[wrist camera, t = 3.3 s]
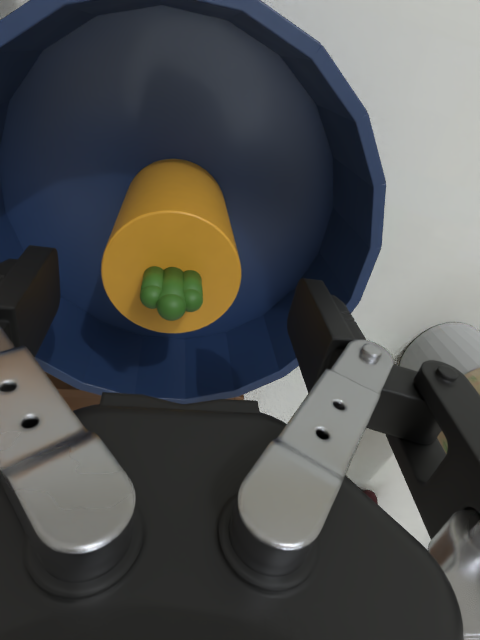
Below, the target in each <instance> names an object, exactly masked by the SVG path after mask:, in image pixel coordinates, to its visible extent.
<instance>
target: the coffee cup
mask: <svg viewBox="0 0 480 640" xmlns="http://www.w3.org/2000/svg"><path fill="white" fill-rule="evenodd" d="M428 360H435V361H440V362H443V363H446V364H448V365H451V366H452V367H454V368H456V369H457V370H459V371H460V372H461V373H463V374H464V375H465V376H466V378H467V379H468V380H469V381H470V383H471V384H472V385H473V387H474V388H475V389H476V391H477V392H478V393H479V395H480V331H479V330H478V329H476V328H474V327H472V326H470V325H468V324H464V323H456V322H452V323H444V324H440V325H437V326H435V327H432V328H430V329H428V330H427V331H425V332H424V333H422V334H421V335H420V336H418V337H417V338H416V339H415V340H414V341H413V342H412V343H411V344H410V345H409V347H408V348H407V349H406V351H405V352H404V354H403V356H402V358H401V361H400V365H399V366H401V367H404V368H408V369H411V370H414V371H418V370H419V368H420V367H421V365H422V363H423V362H425V361H428ZM437 438H438V440H439V442H440V444H441V445H442V447H443V449H444V451H445V453H446V454H447V450H448V444H447V440H446V437H445V435H444V434H443V432H442V431H441V432H440V434H439V435H438V437H437Z"/></svg>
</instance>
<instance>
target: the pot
mask: <svg viewBox="0 0 480 640" xmlns="http://www.w3.org/2000/svg"><path fill="white" fill-rule="evenodd" d="M164 159H182V160H186V161H190V162H192V163H195V164H197V165H199V166H200V167H202V168H203V169H205V170H206V171H207V172H208V173H209V174H210V175H212V177H213V178H214V179H215V180H216V182H217V183H218V185H219V187H220V189H221V191H222V193H223V197H224V200H225V204H226V208H227V212H228V216H229V220H230V224H231V228H232V232H233V235H234V239H235V243H236V247H237V251H238V255H239V259H240V264H241V283H240V287H239V291H238V293H237V296H236V298H235V300H234V301H233V303H232V305H231V306H230V307H229V309H228V310H227V311H226V312H225V313H224V314H223V315H222V316H221V317H220V318H218V319H217V320H216V321H214V322H213V323H211V324H209V325H208V326H205V327H203V328H201V329H198V330H194V331H191V332H185V333H162V332H156V331H152V330H149V329H146V328H143V327H141V326H139V325H137V324H135V323H134V322H132V321H130V320H129V319H127V318H126V317H125V316H124V315H122V314H121V313H120V312H119V311H118V310H117V309H116V307H115V306H114V305H113V303H112V302H111V301H110V299H109V297H108V295H107V293H106V291H105V288H104V286H103V282H102V277H101V261H102V257H103V253H104V250H105V248H106V245H107V242H108V240H109V237H110V235H111V232H112V229H113V227H114V224H115V222H116V219H117V216H118V214H119V211H120V209H121V206H122V203H123V201H124V198H125V196H126V193H127V191H128V188H129V185H130V184H131V182H132V180H133V179H134V177H135V176H136V175H137V174H138V173H139V172H140V171H141V170H142V169H143V168H145V167H146V166H148V165H150V164H152V163H154V162H156V161H159V160H164ZM385 192H386V181H385V177H384V173H383V169H382V165H381V161H380V157H379V153H378V150H377V146H376V142H375V138H374V134H373V130H372V126H371V122H370V118H369V115H368V113H367V110H366V109H365V107H364V106H363V104H362V103H361V101H360V100H359V98H358V97H357V95H356V94H355V93H354V91H353V90H352V88H351V87H350V85H349V84H348V82H347V81H346V79H345V78H344V76H343V75H342V73H341V72H340V70H339V69H338V67H337V66H336V64H335V63H334V61H333V60H332V58H331V57H330V55H329V54H328V53H327V51H326V50H325V48H324V47H323V46H322V45H321V44H320V42H318V41H317V40H315V39H314V38H313V37H311V36H310V35H308V34H307V33H306V32H304V31H303V30H301V29H300V28H299V27H297V26H296V25H294V24H293V23H292V22H290V21H289V20H287V19H286V18H285V17H283V16H282V15H280V14H279V13H278V12H276V11H275V10H273V9H272V8H271V7H269V6H268V5H266V4H265V3H264V2H262V1H261V0H30V1H28V2H27V3H25V4H24V5H22V6H21V7H19V8H18V9H16V10H15V11H13V12H12V13H10V14H9V15H7V16H6V17H4V18H3V19H1V20H0V263H1V262H3V261H5V260H7V259H10V258H11V259H19V257H20V256H21V255H22V254H23V252H24V251H25V250H26V248H27V247H28V246H29V245H34V246H42V247H51V248H56V250H57V253H58V262H59V277H60V292H61V294H60V304H59V308H58V311H57V313H56V315H55V317H54V319H53V321H52V323H51V325H50V328H49V330H48V332H47V334H46V336H45V338H44V340H43V342H42V344H41V346H40V348H39V350H38V352H37V354H36V356H35V359H36V361H37V362H38V364H39V365H40V366H41V368H42V369H43V370H44V371H45V372H47V373H48V374H50V375H52V376H54V377H56V378H58V379H60V380H62V381H63V382H65V383H67V384H69V385H71V386H73V387H75V388H76V389H79V390H82V391H86V392H90V393H94V394H97V395H101V396H102V392H108V393H125V394H143V395H147V396H151V397H155V398H159V399H163V400H167V401H171V402H175V403H179V404H189V403H196V402H203V401H210V400H217V399H228V398H234V397H238V396H241V395H243V394H245V393H248V392H250V391H252V390H255V389H257V388H259V387H261V386H264V385H266V384H268V383H271V382H273V381H275V380H278V379H280V378H282V377H284V376H286V375H287V374H288V373H290V372H291V371H292V370H294V369H295V368H296V367H298V366H299V364H298V361H297V358H296V355H295V352H294V349H293V346H292V344H291V341H290V338H289V335H288V332H287V318H288V314H289V311H290V307H291V304H292V301H293V297H294V294H295V291H296V287H297V284H298V282H299V280H300V279H301V278H307V279H315V280H322V281H323V282H324V284H325V286H326V287H327V289H328V291H329V293H330V294H331V295H335V296H336V297H337V298H338V299H340V300H341V301H342V302H343V303H344V304H345V305H346V307H347V308H348V310H349V312H350V314H351V312H352V311H353V310H354V309H355V307H356V306H357V305H358V303H359V301H360V300H361V297H362V295H363V292H364V290H365V287H366V285H367V282H368V280H369V277H370V275H371V272H372V270H373V267H374V265H375V262H376V260H377V257H378V255H379V252H380V250H381V246H382V232H383V219H384V205H385Z"/></svg>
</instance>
